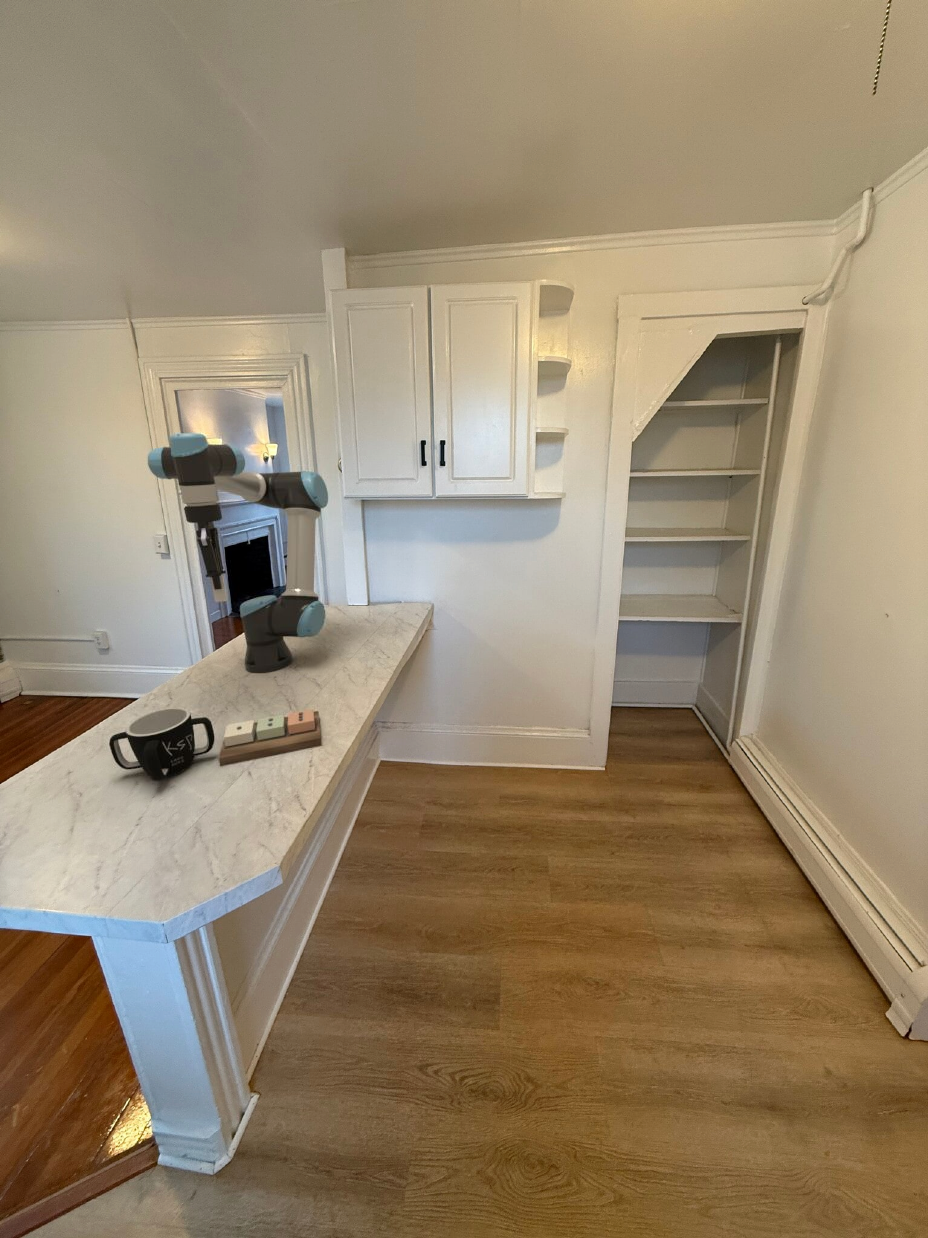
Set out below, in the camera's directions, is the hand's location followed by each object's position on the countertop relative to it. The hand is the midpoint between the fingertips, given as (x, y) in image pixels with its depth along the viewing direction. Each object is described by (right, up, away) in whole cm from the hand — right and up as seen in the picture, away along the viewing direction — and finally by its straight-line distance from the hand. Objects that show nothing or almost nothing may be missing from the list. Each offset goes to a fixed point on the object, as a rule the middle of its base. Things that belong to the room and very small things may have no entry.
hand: (221, 600), depth 118 cm
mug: (-6, -38, -11) cm, 40 cm away
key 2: (+14, -32, -3) cm, 35 cm away
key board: (+14, -34, -2) cm, 37 cm away
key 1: (+7, -33, -5) cm, 34 cm away
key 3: (+20, -31, -1) cm, 37 cm away
